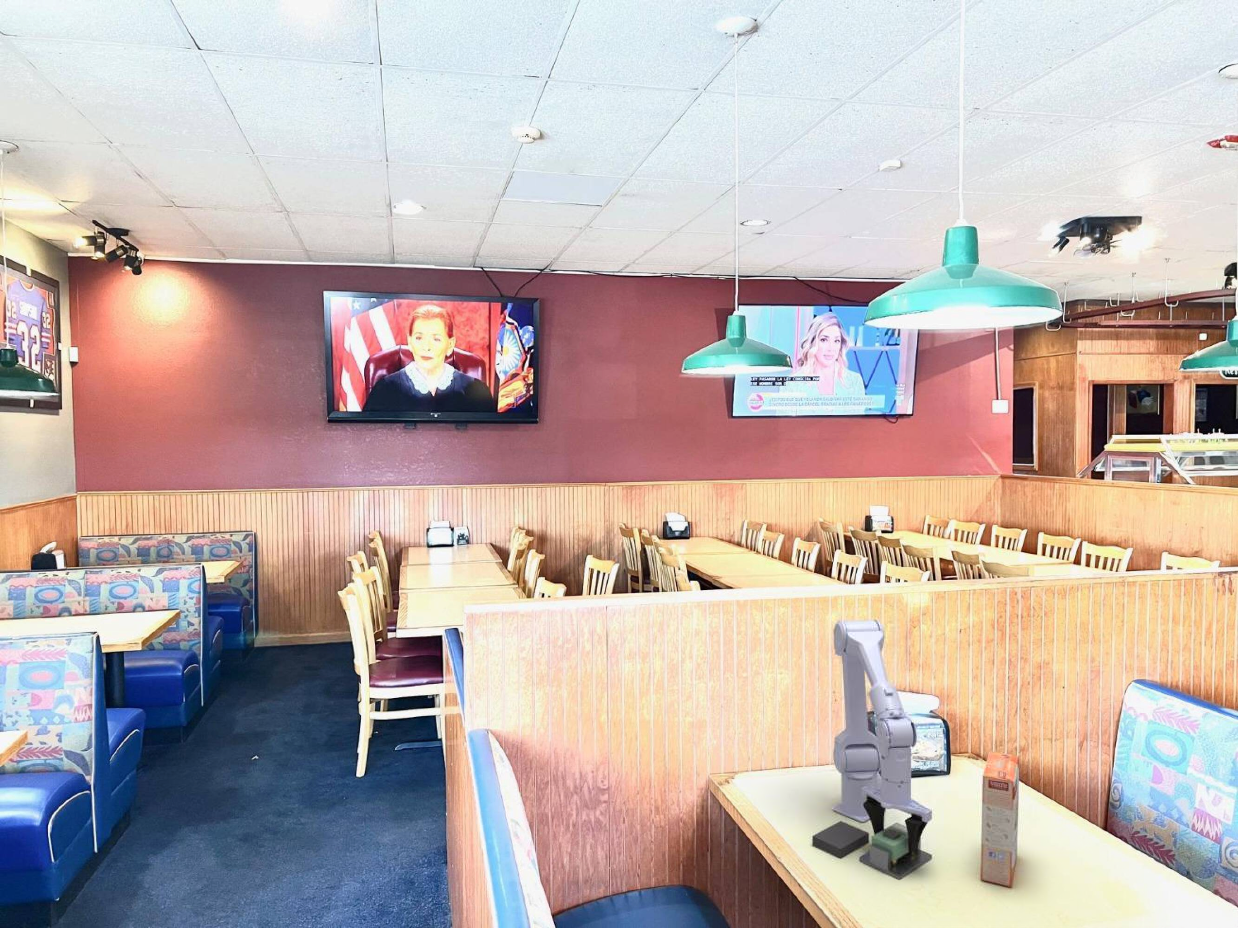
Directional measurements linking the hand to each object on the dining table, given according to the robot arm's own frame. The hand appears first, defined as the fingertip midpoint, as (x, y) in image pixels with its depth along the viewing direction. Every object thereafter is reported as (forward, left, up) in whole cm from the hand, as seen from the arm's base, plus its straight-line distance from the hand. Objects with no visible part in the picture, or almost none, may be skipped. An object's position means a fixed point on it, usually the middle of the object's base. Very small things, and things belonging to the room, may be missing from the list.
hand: (895, 843), depth 163 cm
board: (0, 0, -1) cm, 1 cm away
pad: (+3, -11, -3) cm, 12 cm away
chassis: (0, 0, -3) cm, 3 cm away
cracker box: (-13, +15, -4) cm, 20 cm away
